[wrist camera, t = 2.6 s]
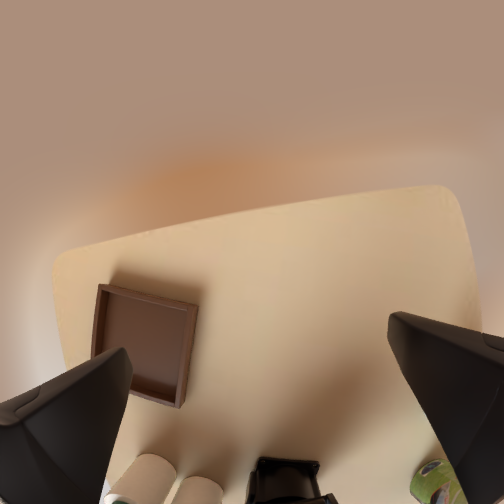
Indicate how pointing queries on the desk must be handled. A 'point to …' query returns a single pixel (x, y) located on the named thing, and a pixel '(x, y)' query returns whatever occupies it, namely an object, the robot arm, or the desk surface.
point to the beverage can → (437, 484)
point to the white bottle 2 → (198, 492)
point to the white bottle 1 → (143, 482)
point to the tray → (147, 340)
